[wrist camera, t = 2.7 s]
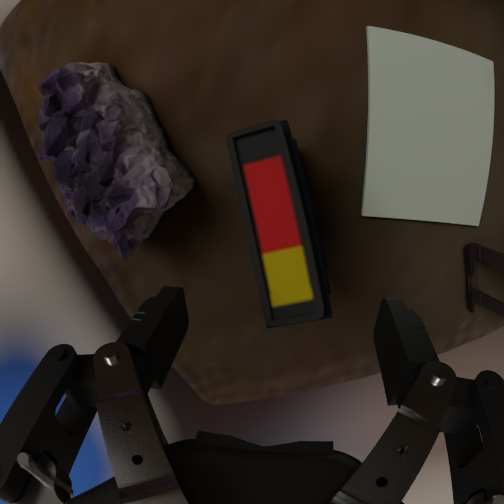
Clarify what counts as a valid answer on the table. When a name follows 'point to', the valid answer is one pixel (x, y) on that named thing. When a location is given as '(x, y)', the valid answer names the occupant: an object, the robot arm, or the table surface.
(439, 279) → the table surface
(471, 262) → the portable electronic device stand
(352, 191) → the table surface
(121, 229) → the geode
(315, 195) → the table surface
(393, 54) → the sage mat
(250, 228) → the black red yellow block
